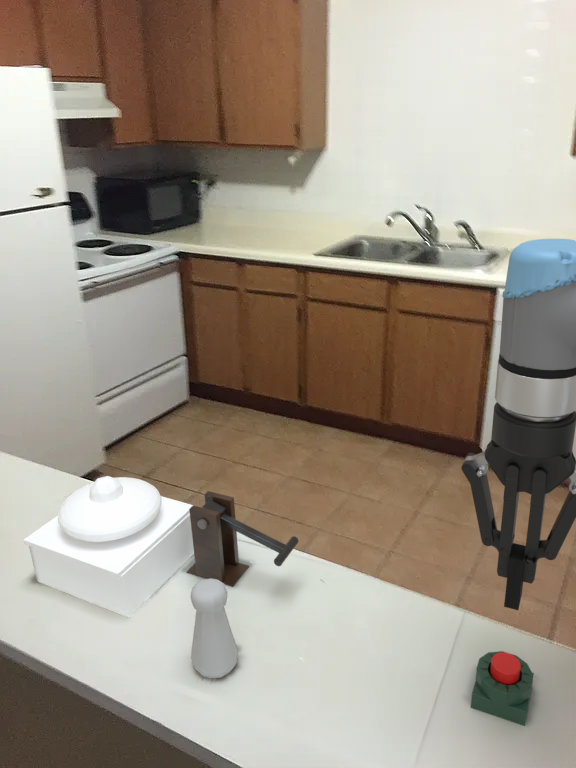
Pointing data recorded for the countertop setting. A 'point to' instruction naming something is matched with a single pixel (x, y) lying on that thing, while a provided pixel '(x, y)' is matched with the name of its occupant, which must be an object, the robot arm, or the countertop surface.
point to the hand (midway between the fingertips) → (512, 600)
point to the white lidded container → (113, 543)
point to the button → (505, 668)
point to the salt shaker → (212, 630)
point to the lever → (254, 533)
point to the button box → (502, 692)
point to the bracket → (215, 543)
